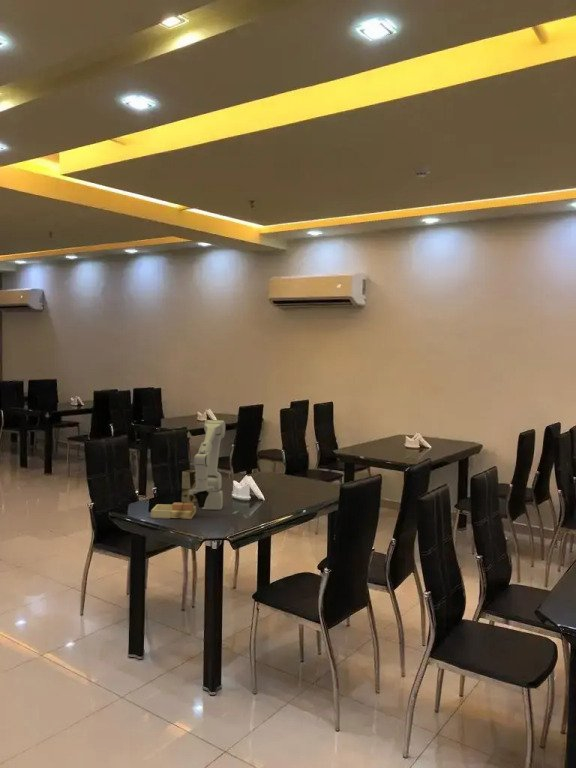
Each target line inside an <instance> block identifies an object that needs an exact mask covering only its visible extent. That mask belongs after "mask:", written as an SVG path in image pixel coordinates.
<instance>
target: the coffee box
mask: <svg viewBox="0 0 576 768" xmlns="http://www.w3.org/2000/svg"><path fill="white" fill-rule="evenodd" d="M181 473H182V474H181V503H198V501H197V499H196V496H195V495H194V494H192V495H191V494H189V490H191V489H193V488H195V487H196V469H195V468H194V469H192V468H191V469H188V470H187V469H186V470H183V471H182V472H181Z"/></svg>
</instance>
